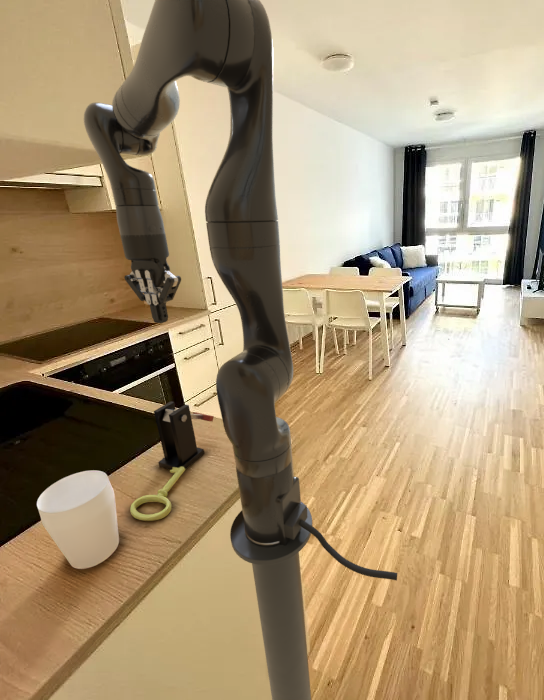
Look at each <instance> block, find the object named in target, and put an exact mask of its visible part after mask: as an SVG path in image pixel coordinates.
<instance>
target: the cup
mask: <svg viewBox="0 0 544 700" xmlns="http://www.w3.org/2000/svg"><path fill="white" fill-rule="evenodd" d="M36 507H37V510H38V513H39V516H40V521H41V524H42V526H43V528H44V529H45V531H46V532H47V533H48V535H49V536H50V538H51V539H52V540H53V542H54V544H55V545H56V546H57V548H58V550H59V551H60V552H61V553H62V555H63V556H64V557H65V559H66V560H67V562H68V563H69V564H70V566H71V567H72V568H74V569H77V570H85V569H90V568H92V567H95V566H97V565H99V564H101V563H103V562H104V561H106V560H107V559H108V558H109V557H110V556H112V555H113V554H114V552H115V551H116V550H117V548H118V546H119V543H120V536H119V526H118V515H117V506H116V495H115V490H114V487H113V486H112V484H111V481H110V478H109V475H108V474H107V473H106V472H104V471H101V470H94V469H93V470H83V471H80V472H76V473H72V474H70V475H68V476H65V477H63V478H61V479H59V480H57V481H56V482H54V483H52V484H51V485H50V486H48V487H47V488H46V489H45V490H44V491H42V492H41V494H40V495H39V497H38V498H37V501H36Z"/></svg>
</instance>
